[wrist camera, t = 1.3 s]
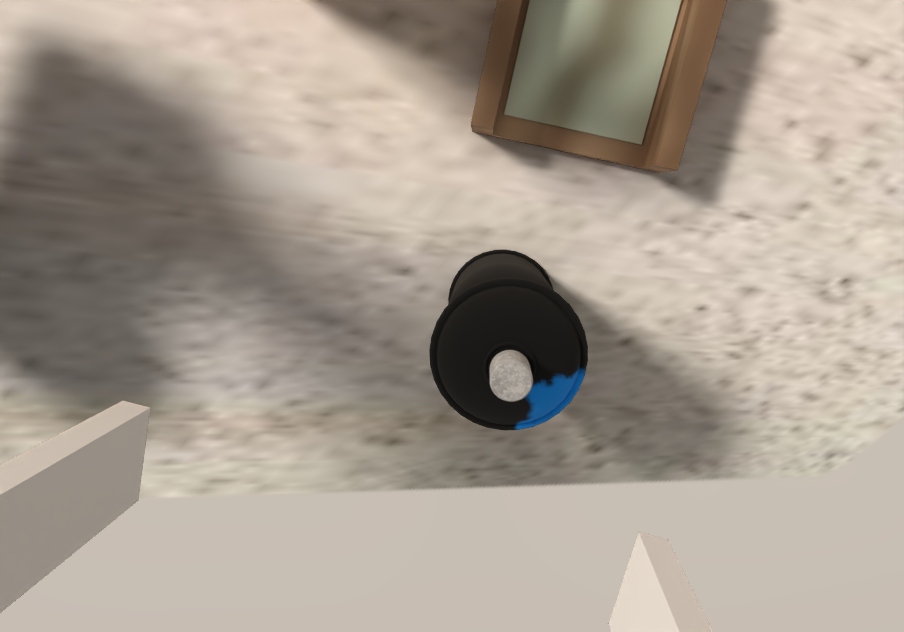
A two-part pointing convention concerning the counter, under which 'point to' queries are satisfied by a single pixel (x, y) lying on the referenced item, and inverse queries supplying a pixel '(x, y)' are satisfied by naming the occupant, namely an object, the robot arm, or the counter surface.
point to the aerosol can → (507, 344)
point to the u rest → (598, 76)
